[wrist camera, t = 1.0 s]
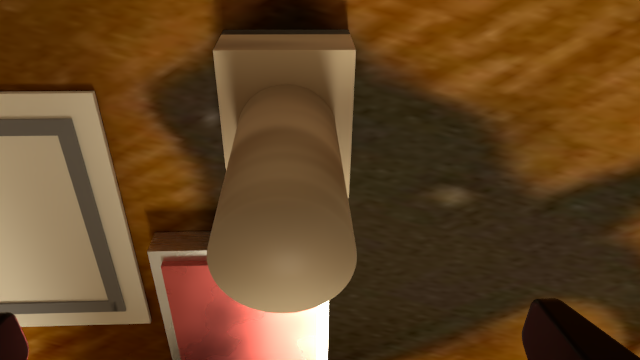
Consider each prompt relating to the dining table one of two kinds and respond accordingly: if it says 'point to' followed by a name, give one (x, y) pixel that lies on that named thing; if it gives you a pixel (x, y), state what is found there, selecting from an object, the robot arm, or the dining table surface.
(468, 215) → the dining table surface
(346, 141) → the stamp
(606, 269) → the dining table surface
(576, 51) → the dining table surface
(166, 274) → the ink pad
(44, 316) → the card
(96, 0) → the dining table surface
